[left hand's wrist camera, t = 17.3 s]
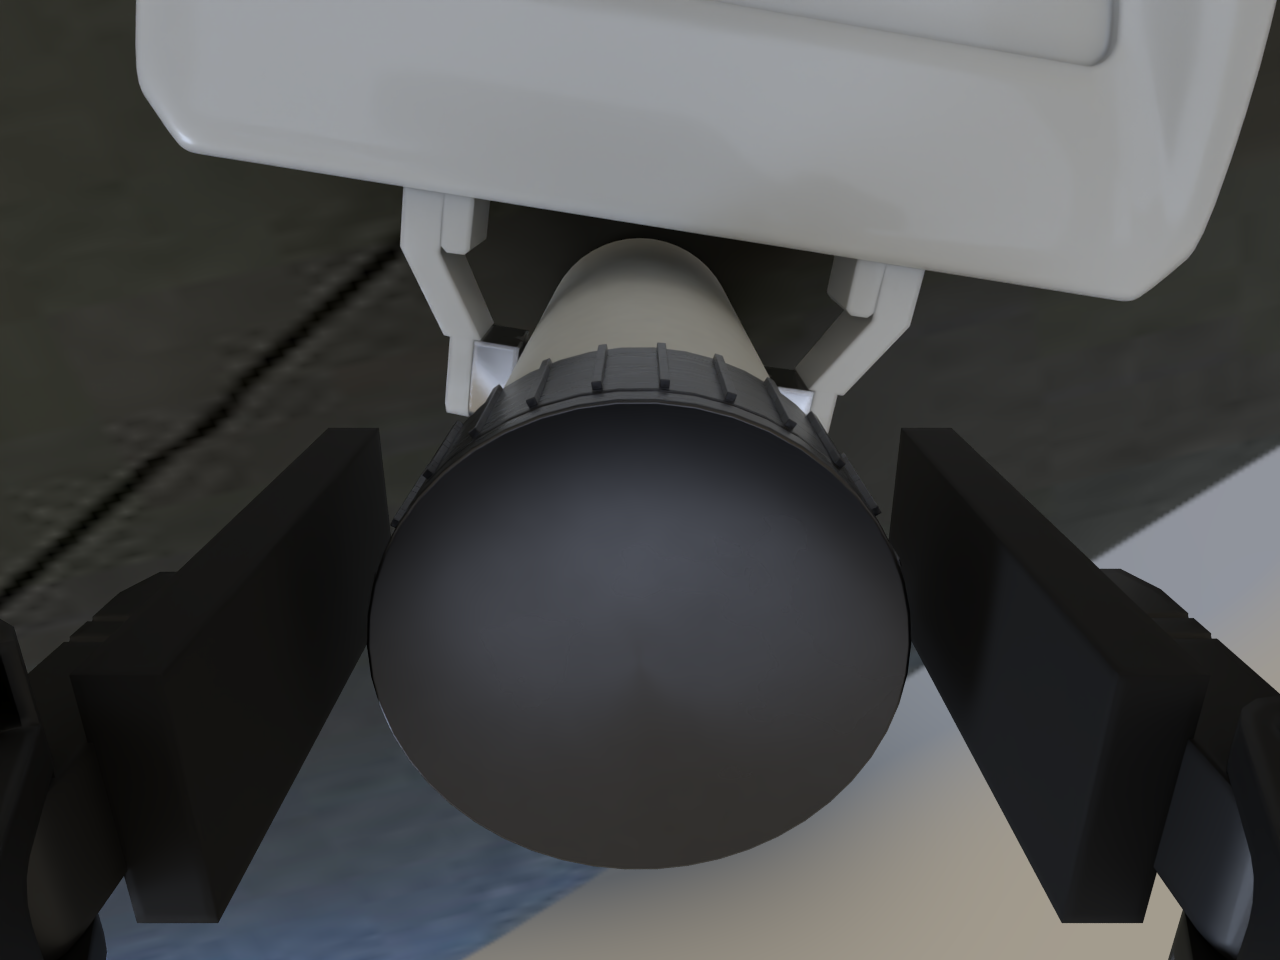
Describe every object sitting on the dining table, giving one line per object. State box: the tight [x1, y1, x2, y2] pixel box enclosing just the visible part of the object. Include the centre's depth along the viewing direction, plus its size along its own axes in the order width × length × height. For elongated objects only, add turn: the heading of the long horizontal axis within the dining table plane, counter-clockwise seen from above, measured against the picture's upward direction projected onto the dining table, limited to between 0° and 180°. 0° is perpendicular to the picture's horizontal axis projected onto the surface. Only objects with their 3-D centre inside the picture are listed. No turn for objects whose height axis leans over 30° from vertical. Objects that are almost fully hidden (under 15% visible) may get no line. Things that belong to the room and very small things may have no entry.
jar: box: [504, 238, 770, 387], centre depth 18 cm, size 5×5×16 cm
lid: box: [367, 343, 911, 869], centre depth 11 cm, size 6×6×2 cm
